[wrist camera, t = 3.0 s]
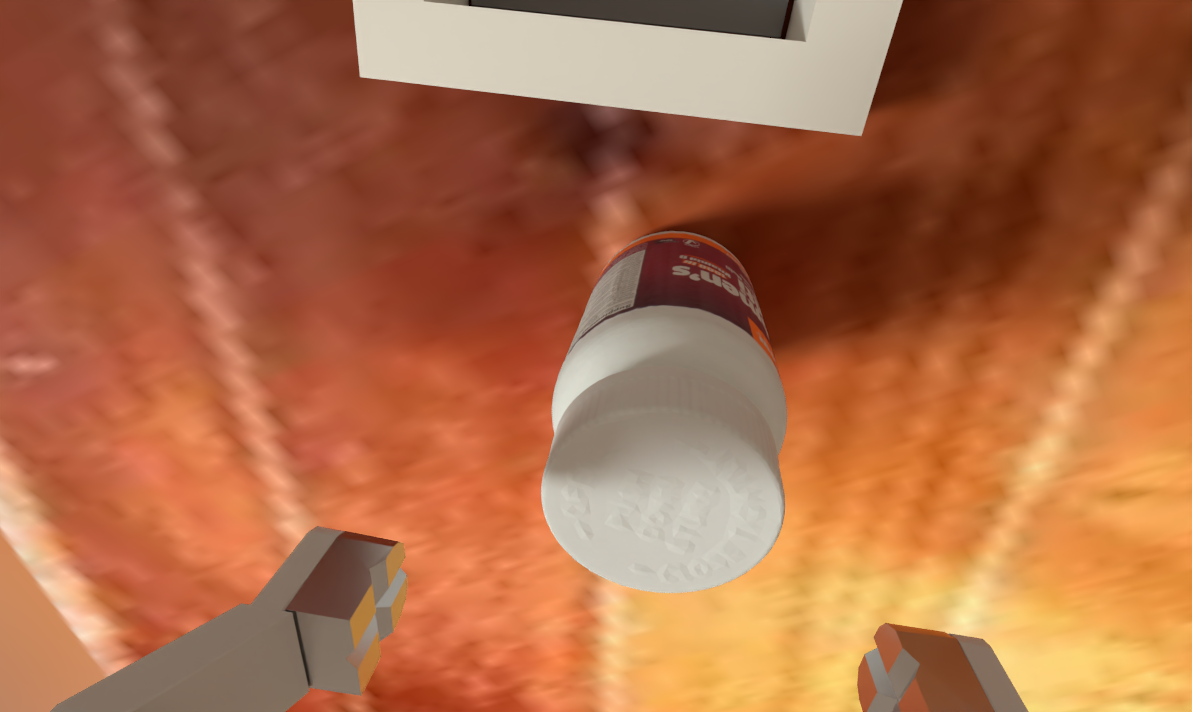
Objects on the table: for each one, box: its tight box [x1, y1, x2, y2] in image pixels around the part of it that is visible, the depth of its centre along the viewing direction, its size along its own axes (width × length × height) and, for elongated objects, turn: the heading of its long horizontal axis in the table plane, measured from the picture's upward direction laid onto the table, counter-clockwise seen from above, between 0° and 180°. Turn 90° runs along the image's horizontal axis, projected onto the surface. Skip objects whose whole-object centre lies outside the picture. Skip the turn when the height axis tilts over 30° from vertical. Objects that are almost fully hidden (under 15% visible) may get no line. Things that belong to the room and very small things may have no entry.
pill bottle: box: [541, 231, 787, 593], centre depth 16 cm, size 6×6×11 cm
